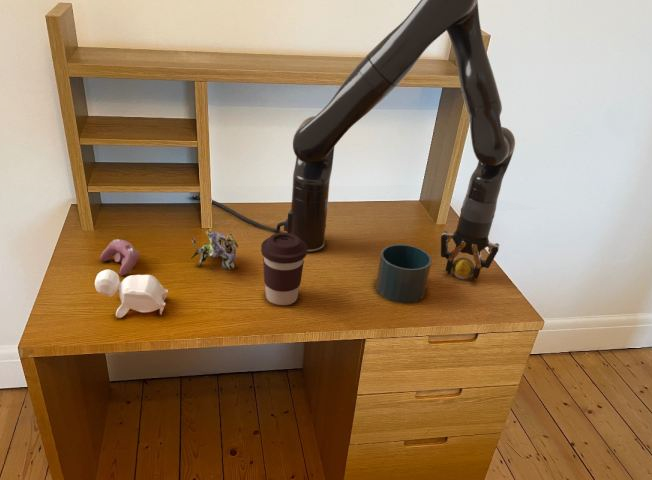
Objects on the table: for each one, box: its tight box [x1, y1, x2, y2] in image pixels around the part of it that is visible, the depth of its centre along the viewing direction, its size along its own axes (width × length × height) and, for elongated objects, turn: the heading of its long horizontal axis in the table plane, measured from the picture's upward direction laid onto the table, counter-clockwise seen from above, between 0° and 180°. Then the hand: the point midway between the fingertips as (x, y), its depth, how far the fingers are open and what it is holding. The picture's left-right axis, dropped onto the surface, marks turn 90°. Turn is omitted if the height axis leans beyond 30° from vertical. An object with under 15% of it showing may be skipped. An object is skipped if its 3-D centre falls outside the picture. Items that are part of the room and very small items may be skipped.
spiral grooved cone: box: [451, 257, 475, 280], centre depth 144 cm, size 5×5×10 cm
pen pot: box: [375, 243, 432, 304], centre depth 137 cm, size 12×12×9 cm
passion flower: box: [190, 227, 239, 272], centre depth 141 cm, size 11×11×12 cm
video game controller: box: [99, 238, 140, 277], centre depth 140 cm, size 10×5×7 cm, turn 47°
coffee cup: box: [260, 232, 308, 306], centre depth 130 cm, size 10×10×15 cm
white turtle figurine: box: [94, 268, 169, 319], centre depth 125 cm, size 8×8×15 cm
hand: (461, 275), depth 145 cm, fingers closed on spiral grooved cone, 5 cm apart
